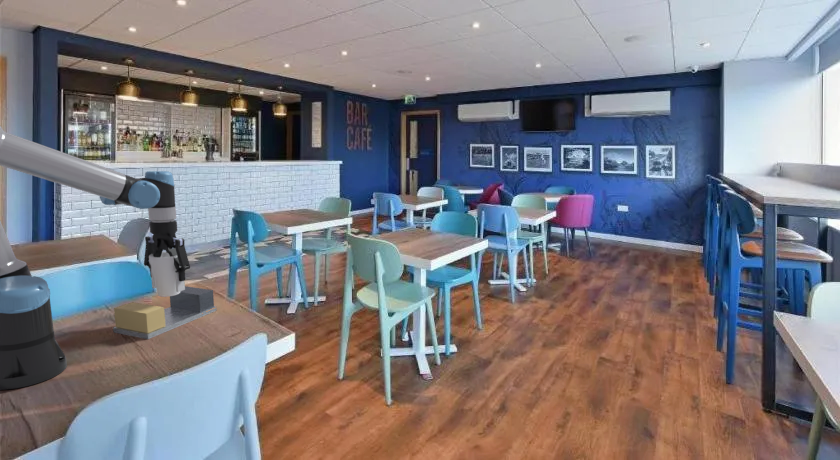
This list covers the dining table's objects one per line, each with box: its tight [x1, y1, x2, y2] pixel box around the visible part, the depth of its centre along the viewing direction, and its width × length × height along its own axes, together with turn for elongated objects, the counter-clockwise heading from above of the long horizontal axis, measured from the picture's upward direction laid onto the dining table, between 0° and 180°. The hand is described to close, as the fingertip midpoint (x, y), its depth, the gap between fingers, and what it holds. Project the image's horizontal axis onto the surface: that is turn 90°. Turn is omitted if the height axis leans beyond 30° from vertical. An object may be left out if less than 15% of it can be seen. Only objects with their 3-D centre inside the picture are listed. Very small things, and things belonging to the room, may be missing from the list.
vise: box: [112, 285, 217, 340], centre depth 143 cm, size 26×14×8 cm, turn 161°
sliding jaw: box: [113, 301, 166, 333], centre depth 134 cm, size 6×13×6 cm, turn 71°
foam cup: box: [149, 251, 180, 298], centre depth 142 cm, size 10×9×13 cm
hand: (168, 288), depth 143 cm, fingers closed on foam cup, 9 cm apart
